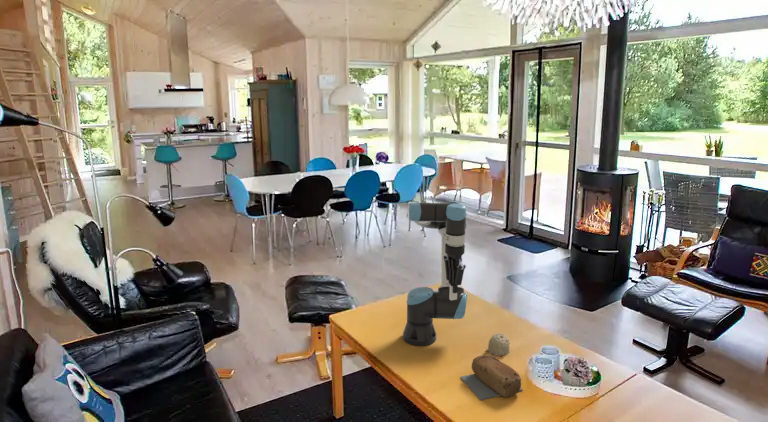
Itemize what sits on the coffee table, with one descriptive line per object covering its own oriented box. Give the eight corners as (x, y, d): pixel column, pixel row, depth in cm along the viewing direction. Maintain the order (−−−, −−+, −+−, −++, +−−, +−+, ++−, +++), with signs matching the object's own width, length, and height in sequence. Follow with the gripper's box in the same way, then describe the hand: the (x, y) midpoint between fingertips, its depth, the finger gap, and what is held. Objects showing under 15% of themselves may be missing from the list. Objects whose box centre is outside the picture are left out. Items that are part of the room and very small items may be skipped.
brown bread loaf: (469, 373, 210) (503, 400, 194) (470, 356, 209) (505, 382, 192) (490, 367, 216) (525, 392, 199) (491, 350, 214) (527, 375, 197)
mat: (460, 377, 209) (460, 376, 209) (500, 369, 215) (500, 368, 215) (480, 400, 194) (480, 398, 194) (522, 390, 200) (522, 389, 200)
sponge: (509, 359, 231) (512, 336, 234) (508, 356, 222) (510, 332, 226) (488, 355, 234) (491, 332, 237) (485, 352, 225) (488, 329, 229)
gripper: (438, 239, 210) (436, 294, 217) (455, 250, 199) (453, 307, 205) (454, 237, 213) (452, 291, 220) (472, 247, 202) (469, 304, 208)
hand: (453, 299), depth 212 cm, fingers closed
